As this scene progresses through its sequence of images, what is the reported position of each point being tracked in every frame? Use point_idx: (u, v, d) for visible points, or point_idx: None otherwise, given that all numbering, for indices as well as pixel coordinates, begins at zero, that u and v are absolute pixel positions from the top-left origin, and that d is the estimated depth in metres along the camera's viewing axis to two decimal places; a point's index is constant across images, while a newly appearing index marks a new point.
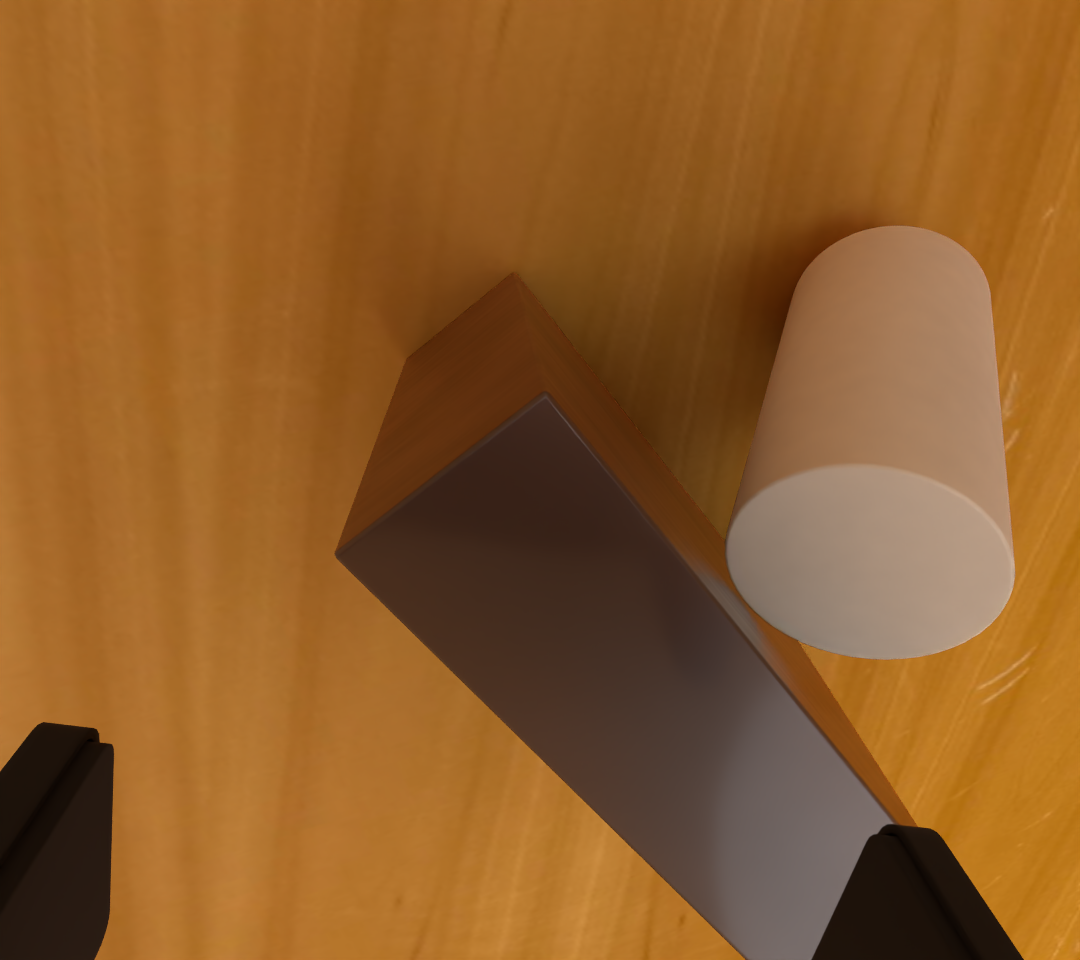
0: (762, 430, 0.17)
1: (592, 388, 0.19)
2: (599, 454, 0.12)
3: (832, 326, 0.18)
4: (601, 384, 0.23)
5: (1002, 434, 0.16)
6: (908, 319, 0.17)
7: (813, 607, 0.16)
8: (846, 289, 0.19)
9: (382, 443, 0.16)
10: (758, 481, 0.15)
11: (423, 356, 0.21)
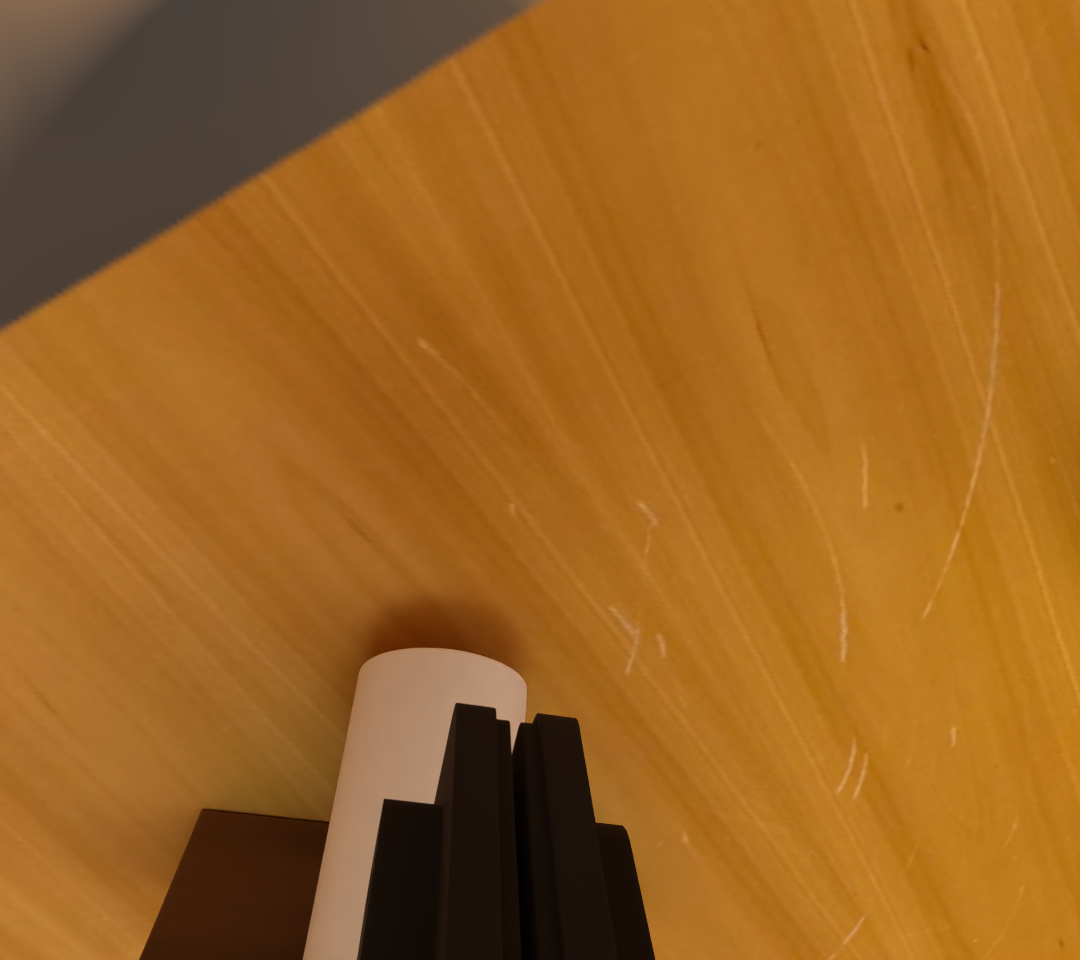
0: None
1: (245, 941, 0.23)
2: None
3: (325, 848, 0.21)
4: (315, 838, 0.27)
5: None
6: (350, 836, 0.20)
7: None
8: (338, 781, 0.22)
9: None
10: None
11: None
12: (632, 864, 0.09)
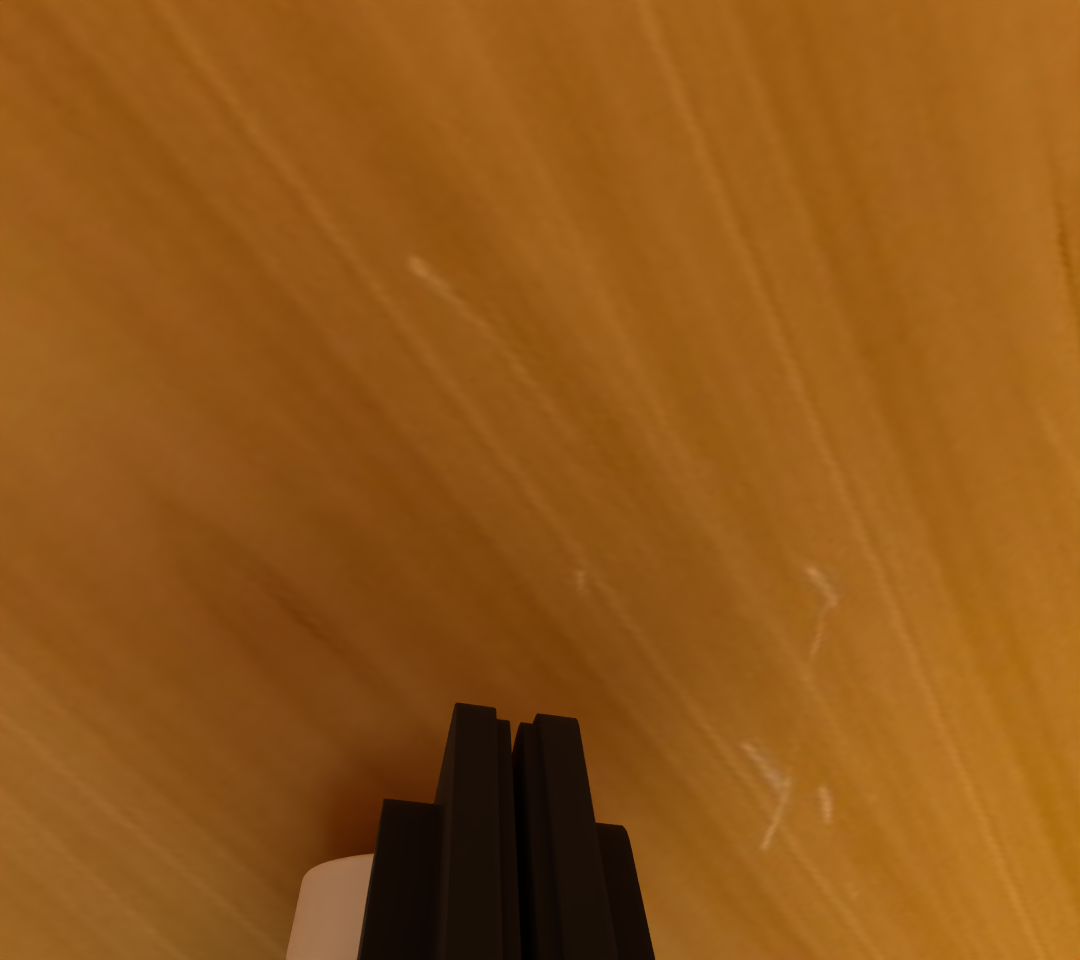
0: None
1: None
2: None
3: None
4: None
5: None
6: None
7: None
8: None
9: None
10: None
11: None
12: (632, 865, 0.09)
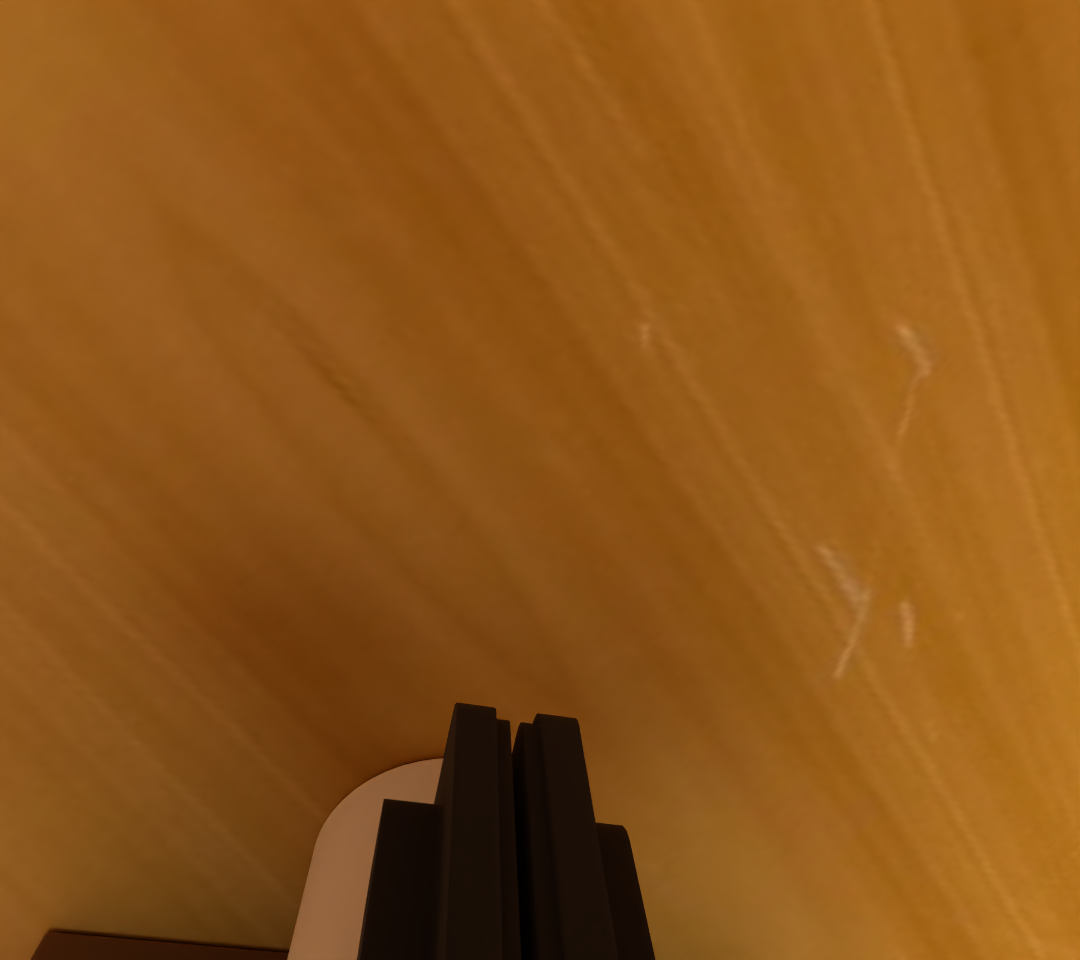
0: None
1: None
2: None
3: None
4: None
5: None
6: None
7: None
8: None
9: None
10: None
11: None
12: (632, 865, 0.09)
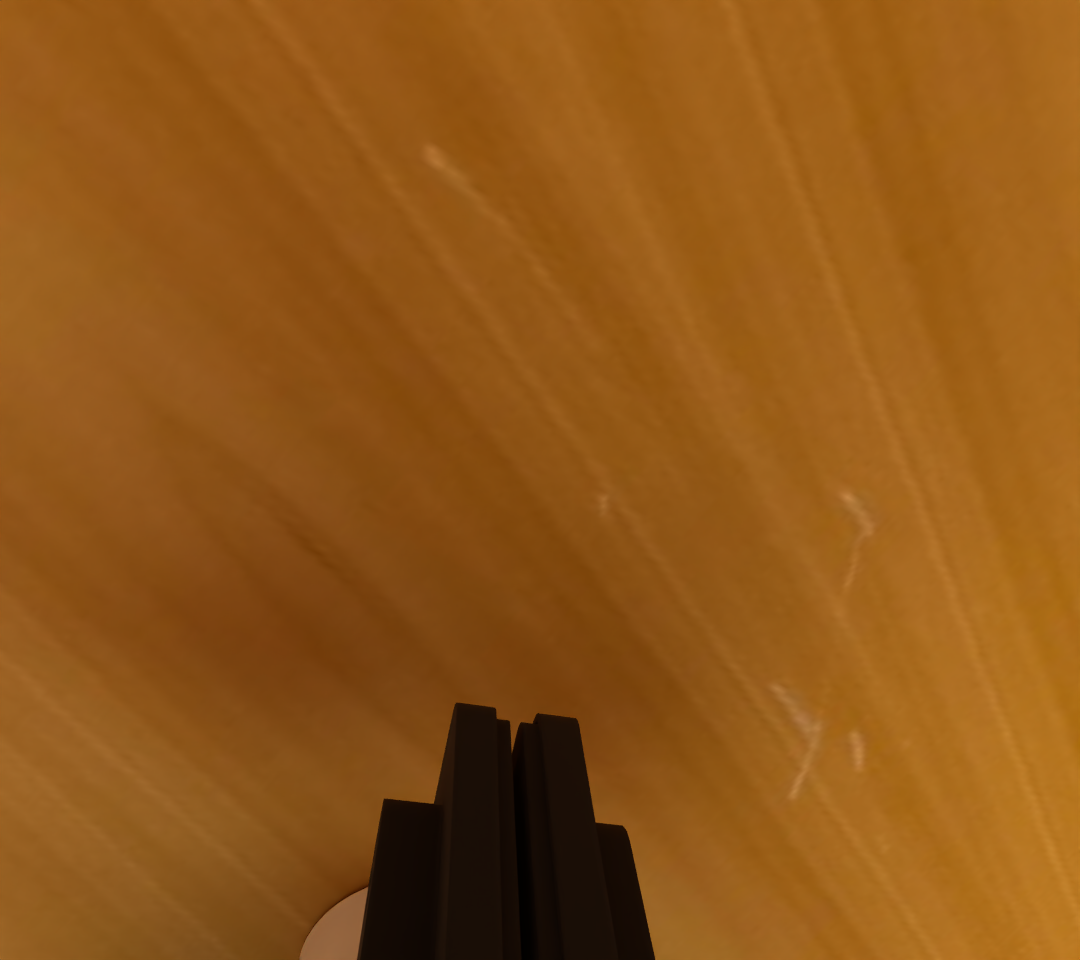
0: None
1: None
2: None
3: None
4: None
5: None
6: None
7: None
8: None
9: None
10: None
11: None
12: (632, 865, 0.09)
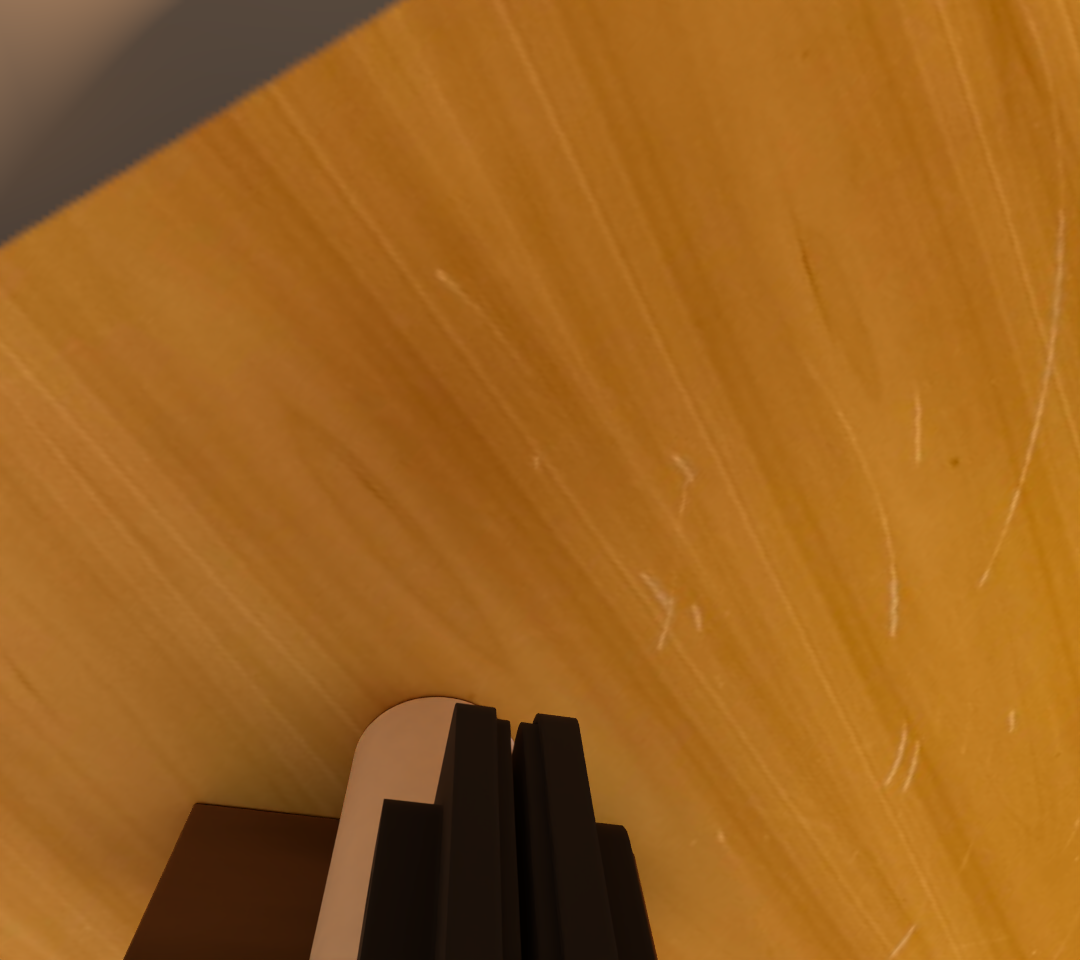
0: None
1: (240, 944, 0.21)
2: None
3: (327, 879, 0.20)
4: (318, 834, 0.25)
5: None
6: (359, 836, 0.20)
7: None
8: (339, 824, 0.21)
9: None
10: None
11: None
12: (632, 865, 0.09)
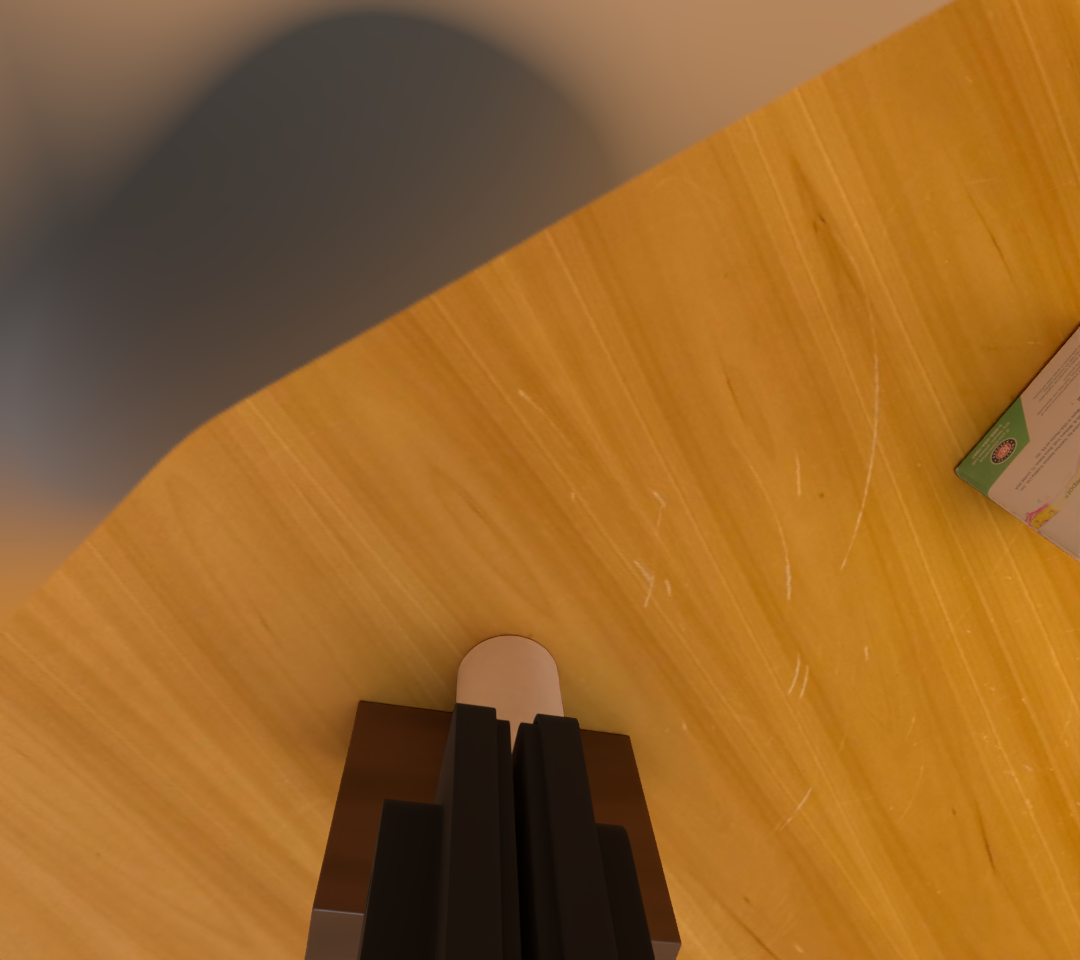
0: None
1: (403, 772, 0.36)
2: (347, 910, 0.29)
3: None
4: (435, 719, 0.40)
5: None
6: None
7: None
8: None
9: None
10: None
11: None
12: (632, 865, 0.09)
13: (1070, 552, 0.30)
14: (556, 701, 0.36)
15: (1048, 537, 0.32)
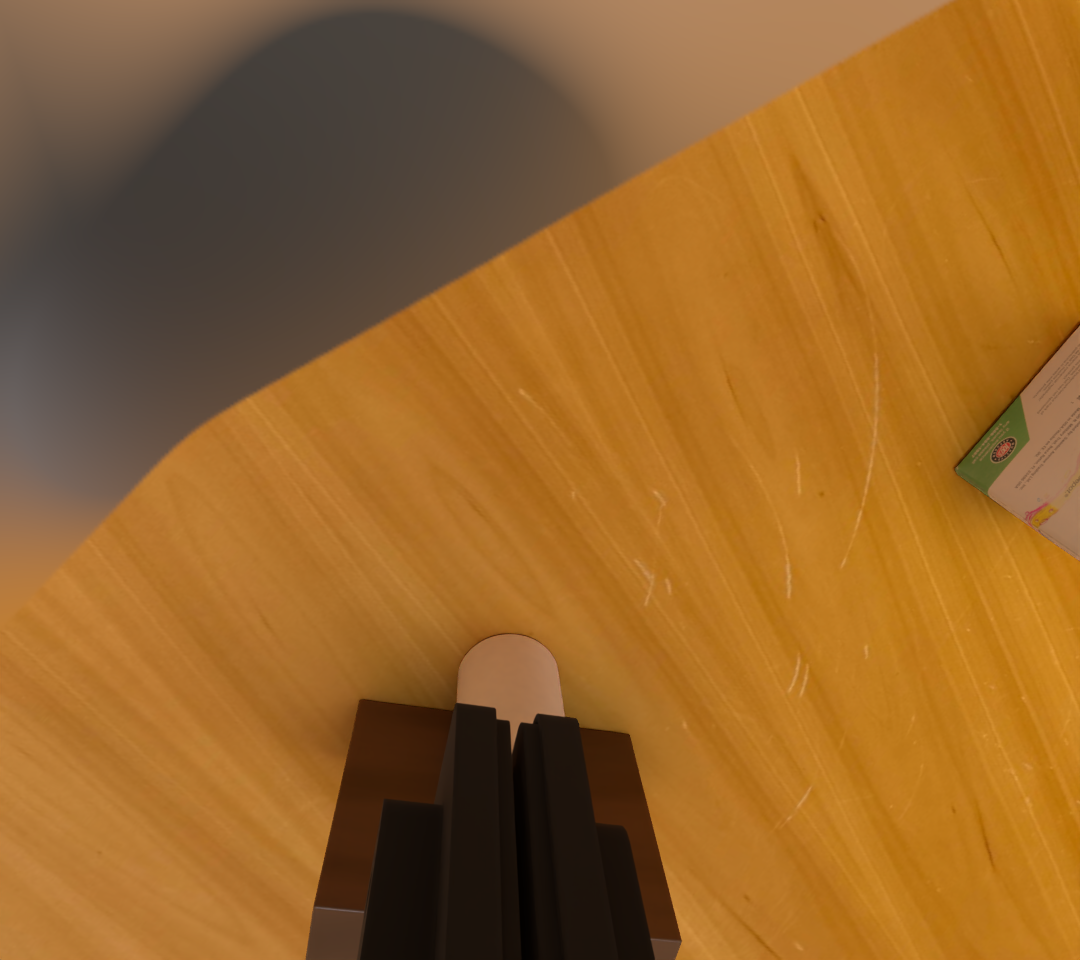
0: None
1: (404, 770, 0.36)
2: (348, 908, 0.29)
3: None
4: (436, 718, 0.40)
5: None
6: None
7: None
8: None
9: None
10: None
11: None
12: (632, 864, 0.09)
13: (1070, 551, 0.30)
14: (556, 699, 0.36)
15: (1048, 536, 0.32)
